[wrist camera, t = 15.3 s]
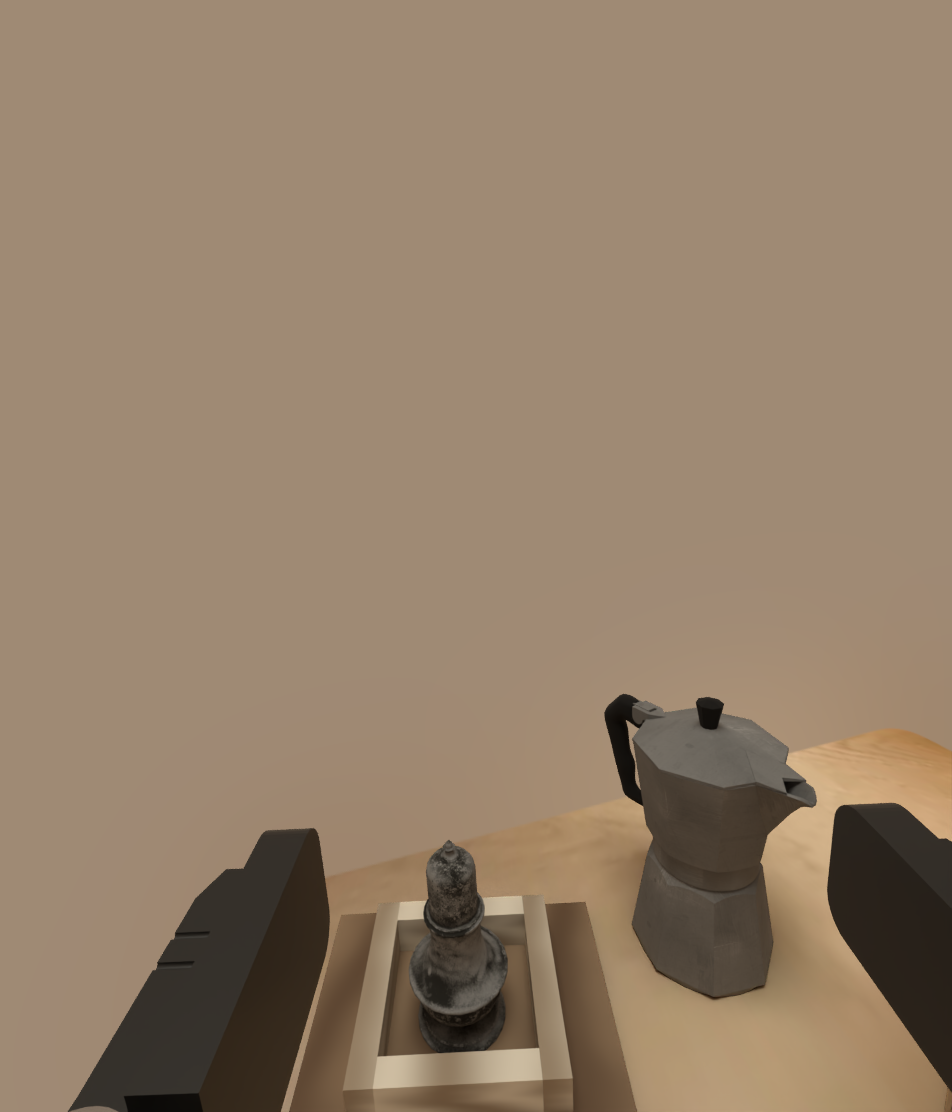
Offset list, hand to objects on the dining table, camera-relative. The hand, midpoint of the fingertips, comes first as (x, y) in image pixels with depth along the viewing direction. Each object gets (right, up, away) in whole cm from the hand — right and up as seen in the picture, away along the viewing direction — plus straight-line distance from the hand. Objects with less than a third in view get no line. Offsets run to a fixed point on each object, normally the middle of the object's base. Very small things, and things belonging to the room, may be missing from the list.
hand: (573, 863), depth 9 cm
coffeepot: (+14, -22, +32) cm, 41 cm away
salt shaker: (-2, -23, +26) cm, 34 cm away
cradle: (-2, -24, +26) cm, 35 cm away
